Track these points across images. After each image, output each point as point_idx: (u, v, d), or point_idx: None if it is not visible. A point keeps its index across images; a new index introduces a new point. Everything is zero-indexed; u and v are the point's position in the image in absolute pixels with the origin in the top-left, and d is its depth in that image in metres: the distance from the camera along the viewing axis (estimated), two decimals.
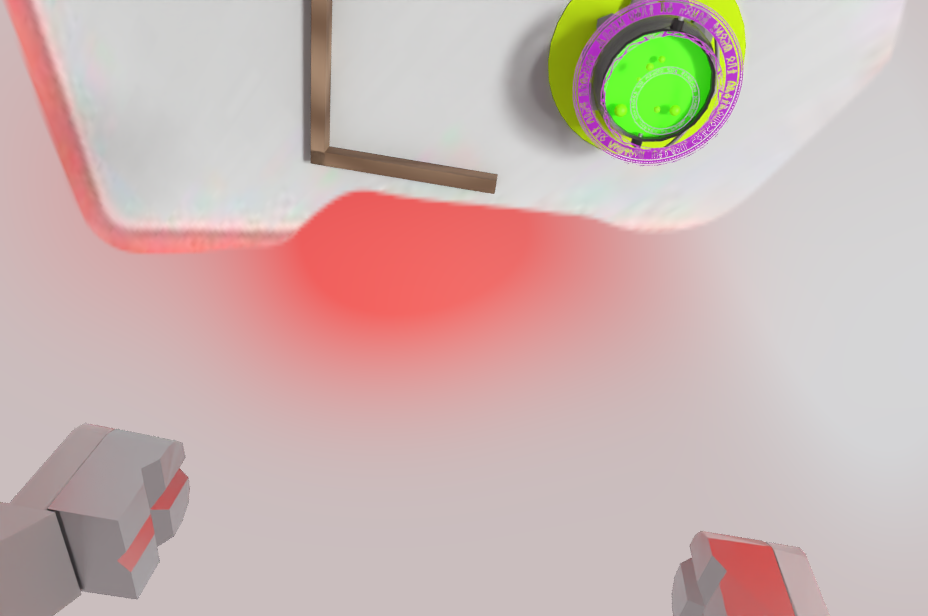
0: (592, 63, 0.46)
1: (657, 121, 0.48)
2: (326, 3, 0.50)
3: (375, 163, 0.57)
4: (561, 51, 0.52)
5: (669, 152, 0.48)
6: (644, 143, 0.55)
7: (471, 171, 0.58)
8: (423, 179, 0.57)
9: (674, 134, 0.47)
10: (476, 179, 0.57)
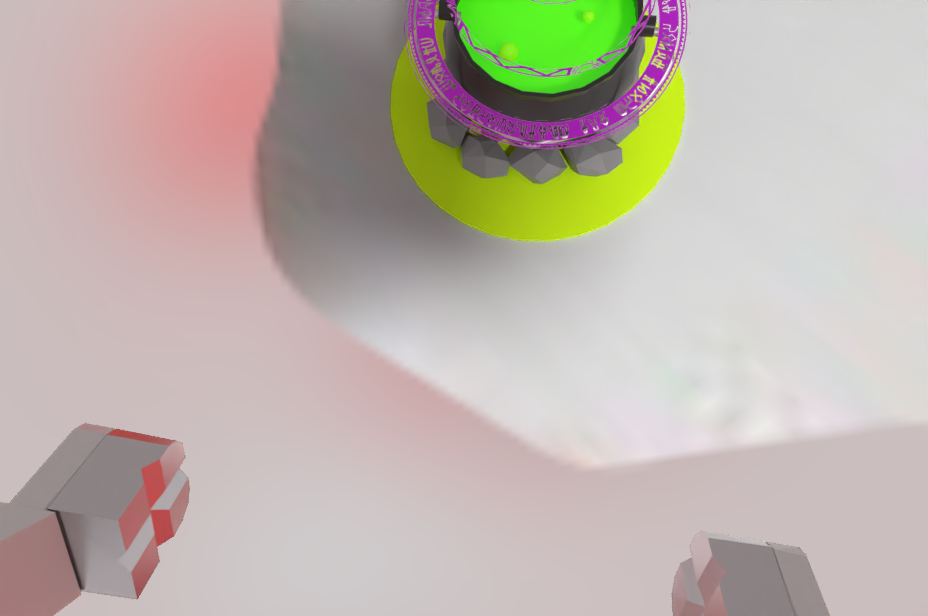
0: None
1: (482, 46, 0.28)
2: None
3: None
4: None
5: (432, 65, 0.27)
6: (412, 125, 0.34)
7: None
8: None
9: (469, 55, 0.26)
10: None
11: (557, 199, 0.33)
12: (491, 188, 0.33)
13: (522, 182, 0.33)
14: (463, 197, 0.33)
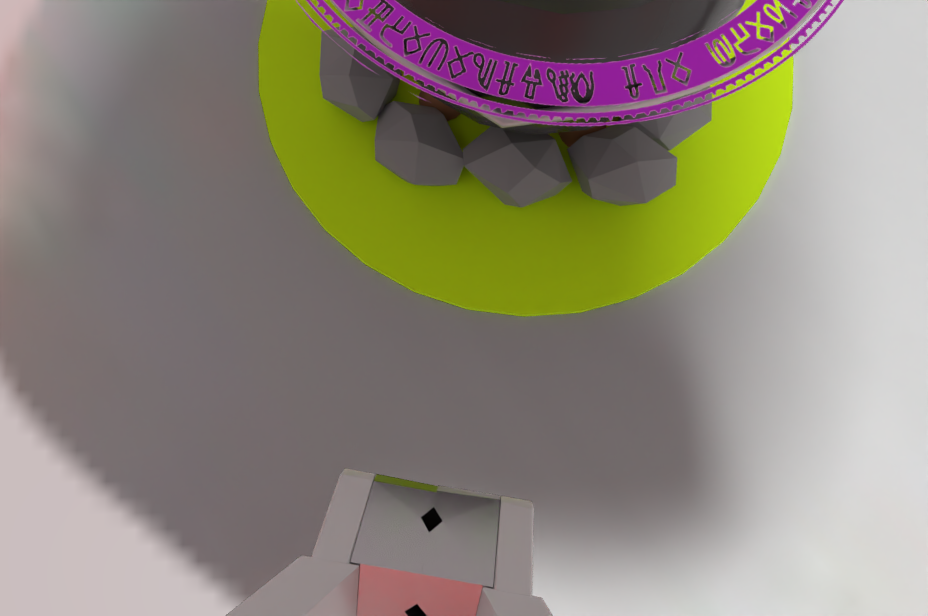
0: None
1: None
2: None
3: None
4: None
5: None
6: (295, 72, 0.18)
7: None
8: None
9: None
10: None
11: (546, 239, 0.17)
12: (425, 205, 0.17)
13: (485, 200, 0.17)
14: (371, 215, 0.17)
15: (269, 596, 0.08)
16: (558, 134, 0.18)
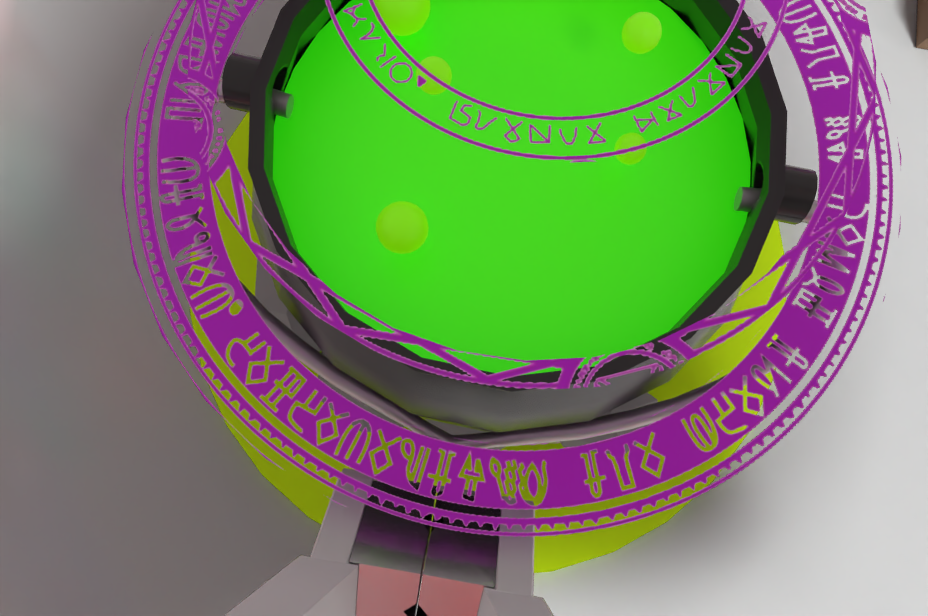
0: None
1: (342, 188, 0.10)
2: None
3: None
4: None
5: (186, 236, 0.09)
6: None
7: None
8: None
9: (282, 229, 0.09)
10: None
11: (512, 486, 0.15)
12: (376, 446, 0.16)
13: None
14: None
15: (268, 596, 0.08)
16: None
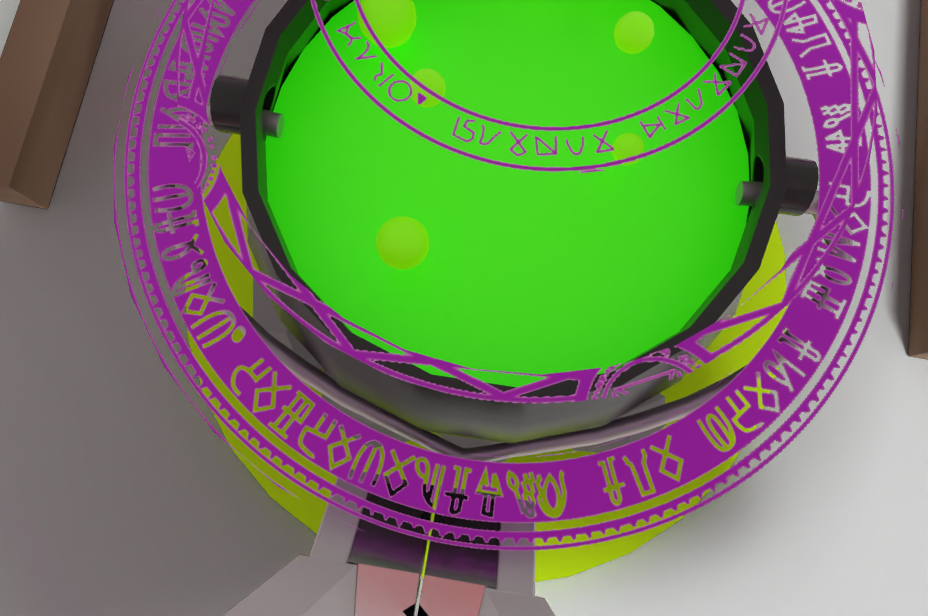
0: None
1: (338, 206, 0.10)
2: None
3: None
4: None
5: (183, 265, 0.09)
6: None
7: (66, 122, 0.17)
8: None
9: (281, 252, 0.09)
10: (24, 117, 0.16)
11: (524, 493, 0.15)
12: None
13: None
14: (324, 479, 0.15)
15: (267, 595, 0.08)
16: None
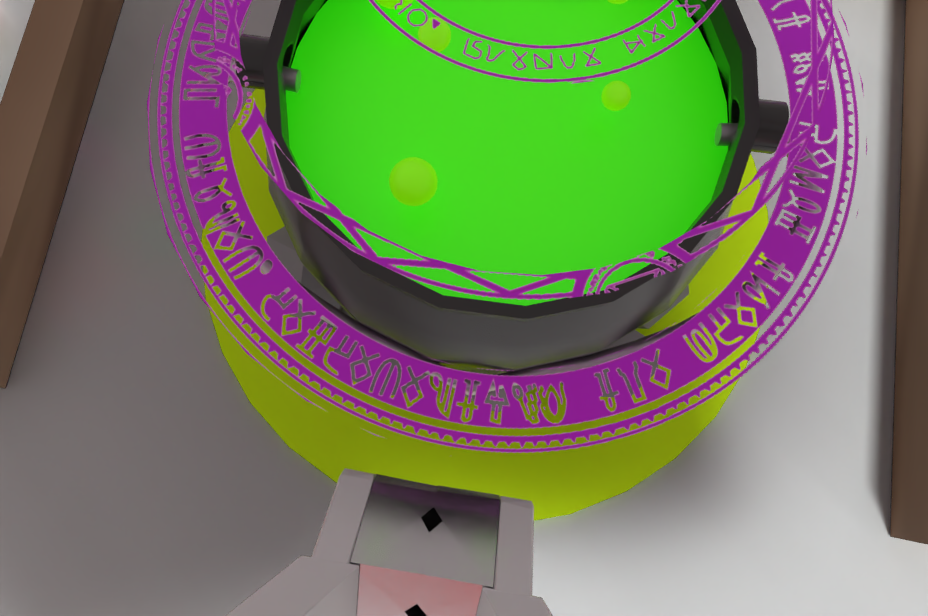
0: None
1: (352, 154, 0.11)
2: None
3: None
4: None
5: (214, 206, 0.10)
6: (243, 274, 0.17)
7: (25, 296, 0.17)
8: (1, 123, 0.16)
9: (304, 190, 0.10)
10: None
11: None
12: (395, 411, 0.16)
13: None
14: (338, 428, 0.16)
15: (269, 596, 0.08)
16: None
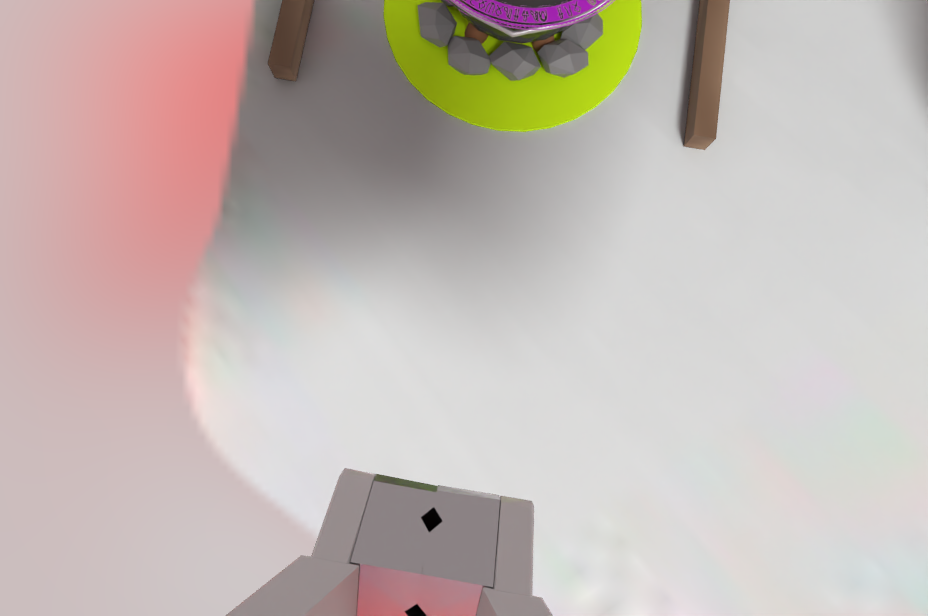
0: None
1: None
2: None
3: None
4: None
5: None
6: (403, 26, 0.38)
7: (303, 41, 0.37)
8: None
9: None
10: (293, 37, 0.36)
11: (531, 96, 0.37)
12: (473, 84, 0.37)
13: (501, 80, 0.37)
14: (448, 91, 0.37)
15: (269, 596, 0.08)
16: (532, 46, 0.38)
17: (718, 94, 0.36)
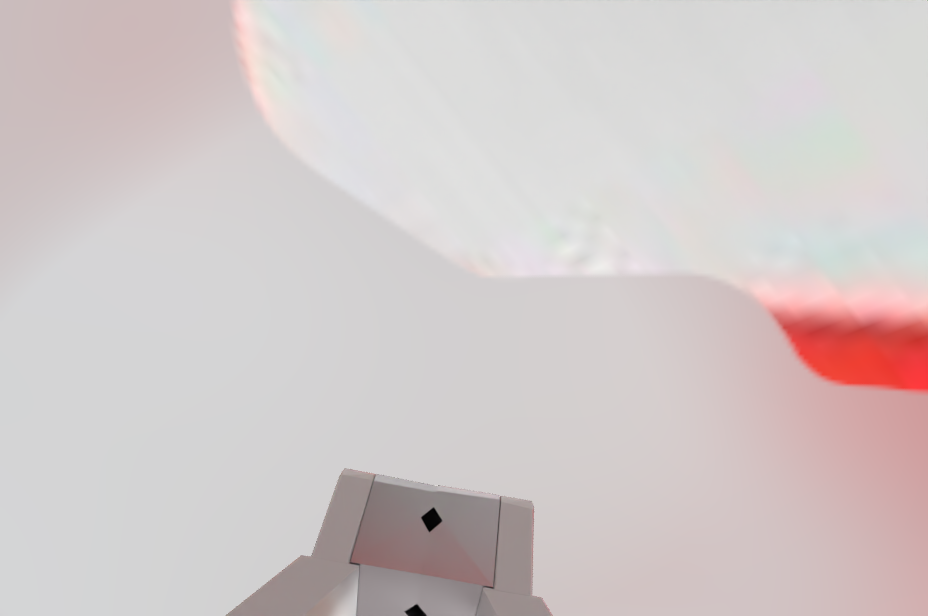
0: None
1: None
2: None
3: None
4: None
5: None
6: None
7: None
8: None
9: None
10: None
11: None
12: None
13: None
14: None
15: (269, 596, 0.08)
16: None
17: None
